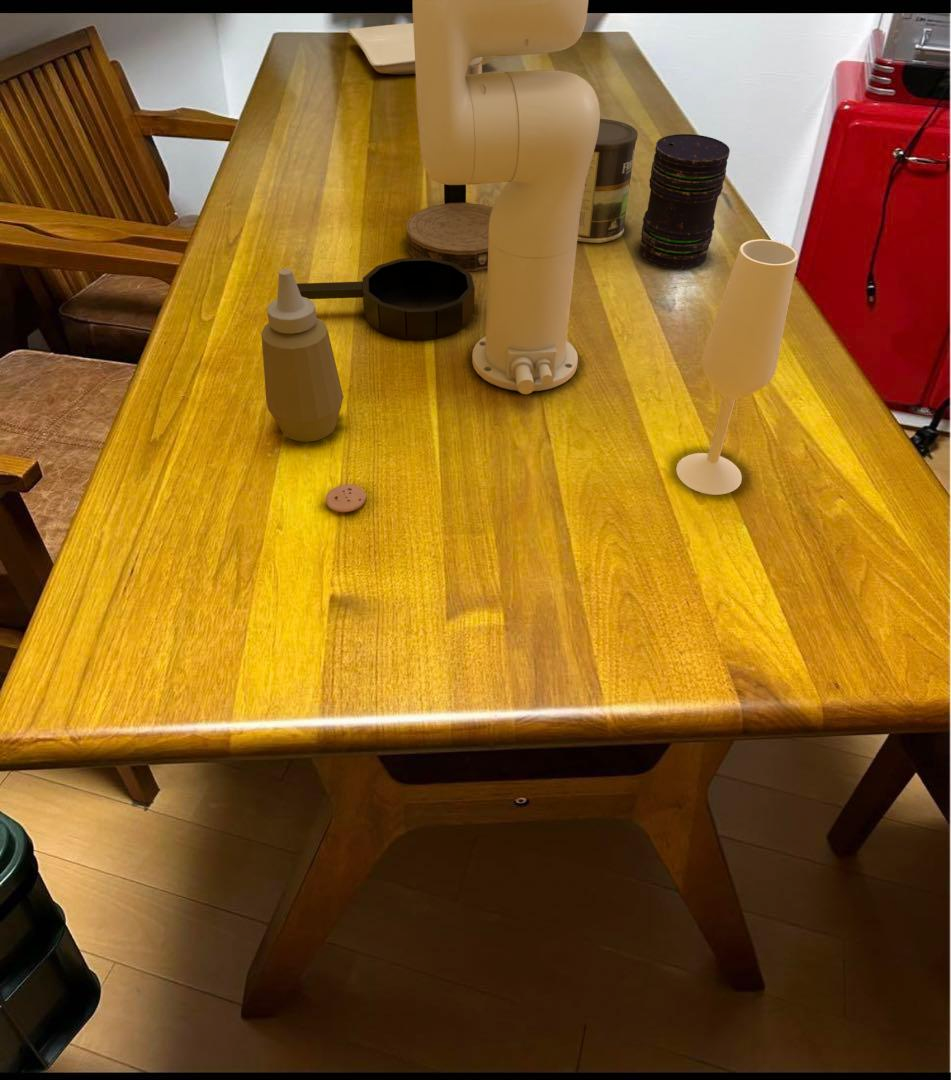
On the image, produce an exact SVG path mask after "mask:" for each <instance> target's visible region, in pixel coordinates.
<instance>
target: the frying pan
mask: <svg viewBox="0 0 951 1080" xmlns="http://www.w3.org/2000/svg"><path fill="white" fill-rule="evenodd" d="M296 284H297V286H298V289H299V292H300V294H301V296H302V297H305V298H308V299H310V300H331V299H332V300H333V299H356V298H357V299H358V298H362V302H363V314H364V318H365V320H366V322H367V323H368V324H369V326H371V328H372V329H374V330H375V331H377V332H379V333H380V334H383V335H385V336H388V337H391V338H395V339H400V340H406V341H429V340H437V339H442V338H445V337H449V336H452V335H454V334H457V332H459V331H461V330H463V329H464V328H465V327H467V325H469V323H470V322H471V321H472V318H473V315H474V314H475V284H474V279H473V274H471V273H470V271H466V270H464V269H463V268H461V267H460V266H458V265H457V264H454V263H452V262H447V261H443V260H439V259H434V258H413V257H403V258H396V259H394V260H391V261H387V262H384V263H381V264H378V265H376V266H375V267H374V268H372V269H371V270H370V271H369V272H368V273H367V274H366V275H365V276H363V277H362V281H361V280H360V281H338V282H337V281H334V282H333V281H332V282H302V283H300V282H299V283H296Z"/></svg>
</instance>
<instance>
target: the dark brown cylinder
mask: <svg viewBox="0 0 951 1080" xmlns="http://www.w3.org/2000/svg"><path fill="white" fill-rule="evenodd" d="M654 149H655V153H654V156H653V161H652V163H651V169H650V178H649V186H648V187H649V189H650V191H649V197H648V202H647V203H648V204H647V209H646V210H645V212H644V215H643V218H642V225H641V232H640V236H641V237H640V243H641V244H640V245H639V248H638V249H639V250H638V253H639V257H641V259H642V260H643V261H645V262H646V263H648V264H650V265H652V266H653V267H658V268H659V269H665V270H670V271H671V270H673V271H685V270H687V271H688V270H693V269H696V268H699V267H700V266H702V265H703V264H705V262H706V260H707V257H708V251H709V247H710V244H711V243H712V238H713V231H714V230H715V218H714V217H715V213H716V208H717V204H718V199H719V197H720V195H721V194H722V190H723V189H724V181H725V179H726V173H727V165H728V159H729V156H730V153H731V152H730V151H731V149H730V147H729V146H728V144H726V143H724V142H723V141H721V140H719V139H718V138H714V137H710V136H706V135H702V134H694V133H679V134H678V133H677V134H670V135H666V136H663V137H661V138H660V139H658V140H657V141H656V144H655V148H654Z"/></svg>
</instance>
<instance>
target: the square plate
mask: <svg viewBox="0 0 951 1080" xmlns="http://www.w3.org/2000/svg"><path fill="white" fill-rule="evenodd" d="M347 32H348V34H349V35H350V36H351V38H352V39H353V40H354V42H355V43H356V45H357V46H358V47H359V48H360V49H361V50H362V52H363V53H364V55H365V57H366V59H367V61H368V63H369V64H370V65H371V67H372V68H373V69H374V71H376V72H377V73H380V74H388V75H397V76H398V75H414V74H415V75H416V70H415V50H414V30H413V22H412V23H397V24H385V25H375V26H366V27H358V28H349V29H347ZM495 57H496V56H492V57H482V66H484V65H487V64H488V63H489V62H491V61H492V60H493V59H494V58H495Z"/></svg>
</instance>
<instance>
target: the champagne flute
mask: <svg viewBox="0 0 951 1080" xmlns="http://www.w3.org/2000/svg"><path fill="white" fill-rule="evenodd" d="M798 259H799V253H798V251H797V250H796V249H794V248H793V247H792V246H790V245H789V244H787V243H785V242H781V241H777V240H772V239H764V238H762V239H761V238H760V239H759V238H758V239H751V240H747V241H745V242H743V243H742V244H741V245H740V247H739V249H738V252H737V255H736V259H735V260H734V264H733V267H732V269H731V272H730V275H729V278H728V281H727V284H726V287H725V289H724V293H723V296H722V298H721V301H720V304H719V307H718V310H717V312H716V316H715V318H714V322H713V324H712V327H711V330H710V333H709V336H708V338H707V341H706V344H705V347H704V350H703V353H702V356H701V364H700V365H701V369H702V372H703V374H704V376H705V378H706V380H707V382H708V383H709V384H710V385H711V387H713V389H714V390H715V391H716V392H717V393H718V394H719V395H720V396H722V400H721V403H720V407H719V411H718V414H717V419H716V422H715V425H714V430H713V434H712V437H711V441H710V445H709V449H708V453H706V452H697V453H691V454H689V455H686V456H684V457H682V458H681V459H680V460H679V461H678V463H677V465H676V469H675V470H676V471H675V472H676V475H677V478H678V479H679V480H680V481H681V483H682V484H684V485H685V486H686V487H688V488H689V489H691V490H693V491H695V492H699V493H701V494H705V495H713V496H717V495H725V494H730V493H731V492H734V491H735V490H737V489H738V488H739V487H740V485H741V484H742V481H743V480H742V479H743V476H742V472H741V470H740V469H739V467H738V466H737V465H736V464H735V463H733V462H732V461H731V460H729V459H728V458H725V457H724V456H721V453H722V449H723V446H724V443H725V439H726V436H727V431H728V429H729V424H730V421H731V416H732V414H733V410H734V407H735V403H736V400H738V399H742V398H744V397H747V396H750V395H753V394H755V393H757V392H759V391H761V390H762V389H763V388H765V387H766V386H767V385H768V384H769V383H770V382H771V381H772V380H773V379H774V377H775V374H776V371H777V368H778V367H777V366H778V361H779V356H780V352H781V348H782V347H781V346H782V341H783V335H784V330H785V325H786V320H787V315H788V310H789V306H790V300H791V296H792V295H791V294H792V289H793V284H794V280H795V274H796V269H797V264H798Z"/></svg>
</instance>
